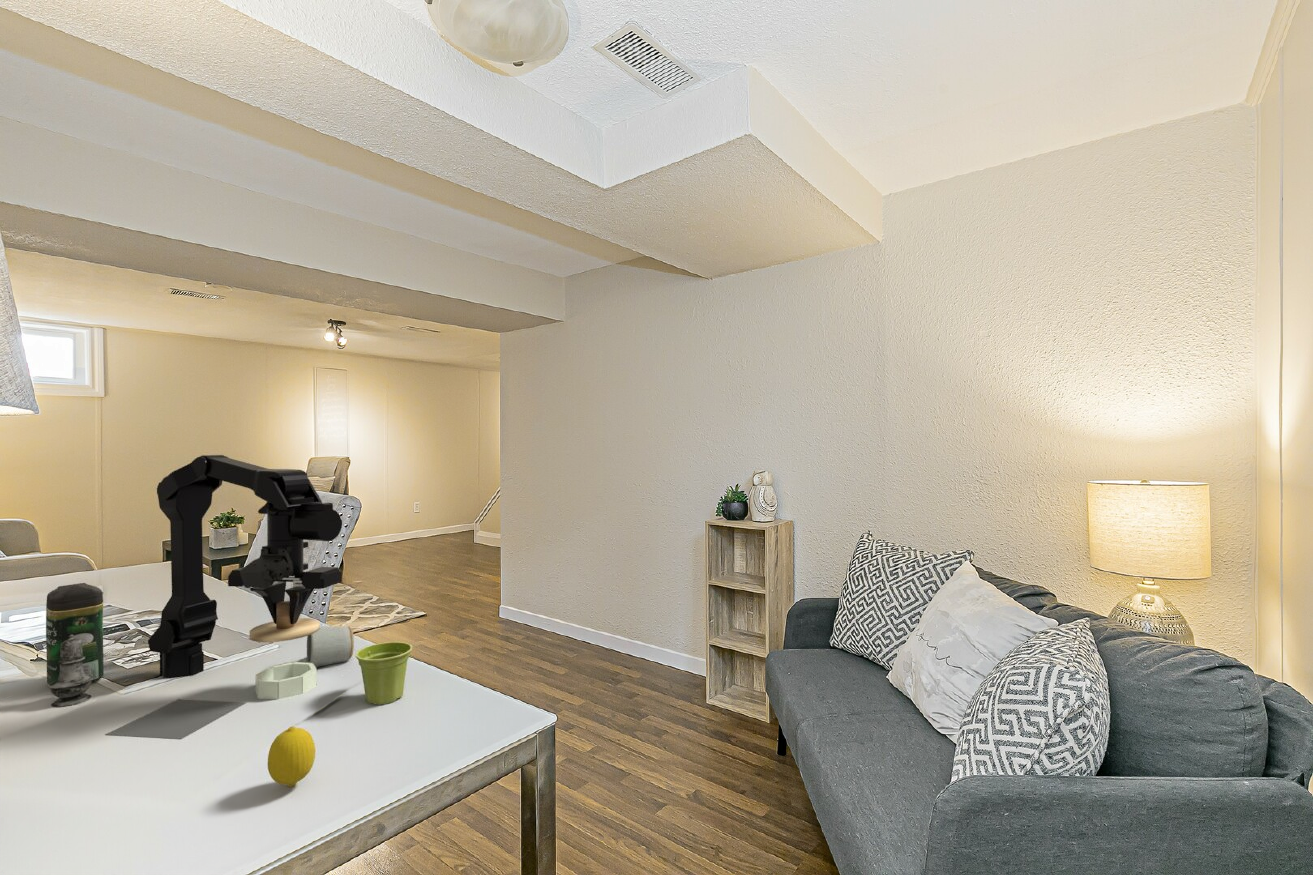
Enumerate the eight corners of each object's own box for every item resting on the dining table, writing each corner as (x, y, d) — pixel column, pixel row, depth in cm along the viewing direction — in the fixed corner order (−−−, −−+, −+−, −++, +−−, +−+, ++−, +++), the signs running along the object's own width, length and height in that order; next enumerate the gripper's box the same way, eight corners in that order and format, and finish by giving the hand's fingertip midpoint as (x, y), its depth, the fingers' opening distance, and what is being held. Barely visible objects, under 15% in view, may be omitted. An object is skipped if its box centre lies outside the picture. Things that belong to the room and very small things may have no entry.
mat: (104, 740, 95) (104, 734, 95) (178, 704, 108) (178, 699, 108) (181, 745, 94) (181, 738, 94) (246, 708, 107) (246, 702, 107)
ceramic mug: (355, 663, 128) (355, 626, 128) (310, 672, 123) (310, 634, 123) (345, 650, 137) (345, 615, 137) (303, 658, 132) (303, 622, 132)
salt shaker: (101, 696, 112) (101, 630, 112) (61, 710, 106) (61, 640, 106) (80, 692, 114) (80, 627, 114) (40, 705, 108) (40, 637, 108)
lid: (234, 641, 108) (234, 610, 108) (278, 622, 119) (279, 594, 119) (292, 643, 107) (292, 612, 107) (332, 624, 118) (332, 596, 118)
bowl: (243, 702, 109) (243, 680, 109) (281, 682, 118) (280, 661, 118) (292, 705, 108) (292, 682, 108) (325, 684, 117) (325, 663, 117)
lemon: (281, 776, 86) (280, 718, 86) (322, 774, 86) (322, 716, 86) (258, 799, 80) (258, 737, 80) (303, 797, 80) (303, 735, 80)
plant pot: (356, 713, 105) (356, 662, 105) (354, 693, 113) (354, 646, 113) (415, 702, 109) (414, 653, 109) (409, 684, 117) (409, 638, 117)
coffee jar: (42, 681, 119) (42, 585, 119) (97, 669, 125) (97, 578, 125) (50, 694, 113) (50, 593, 113) (107, 681, 119) (107, 585, 119)
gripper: (202, 545, 106) (202, 635, 106) (303, 547, 104) (303, 639, 104) (251, 535, 117) (251, 617, 117) (343, 536, 115) (343, 620, 115)
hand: (285, 623), depth 113 cm, fingers closed on lid, 3 cm apart
